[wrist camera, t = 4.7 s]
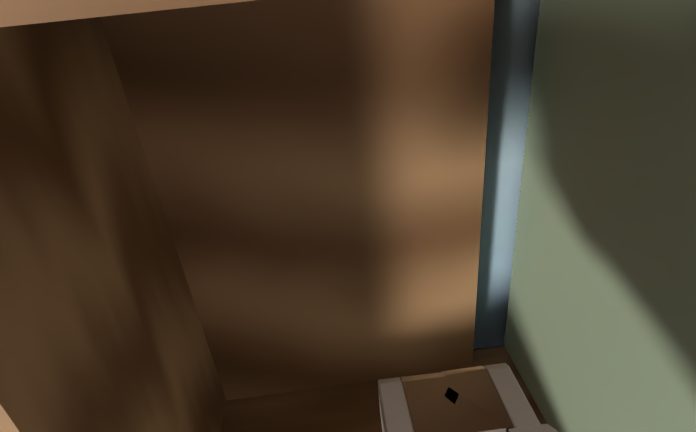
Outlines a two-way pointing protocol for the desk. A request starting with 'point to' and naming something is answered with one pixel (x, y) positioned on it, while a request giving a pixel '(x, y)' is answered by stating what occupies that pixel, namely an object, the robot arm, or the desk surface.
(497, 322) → the desk surface
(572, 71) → the panel
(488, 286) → the desk surface
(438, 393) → the robot arm
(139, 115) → the crate
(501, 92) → the desk surface
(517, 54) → the desk surface
